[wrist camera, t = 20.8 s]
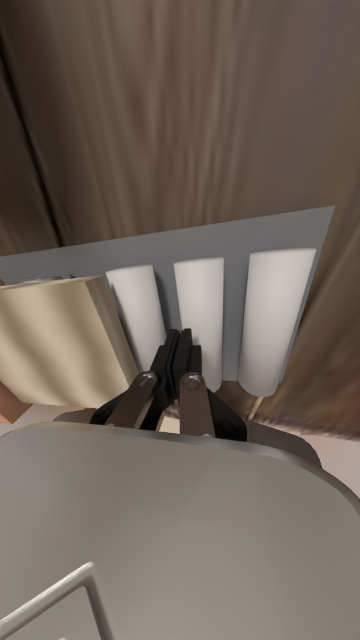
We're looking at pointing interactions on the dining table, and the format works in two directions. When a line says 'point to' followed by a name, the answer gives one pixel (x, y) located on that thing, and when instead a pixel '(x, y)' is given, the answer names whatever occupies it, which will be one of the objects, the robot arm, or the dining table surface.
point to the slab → (63, 343)
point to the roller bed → (182, 250)
